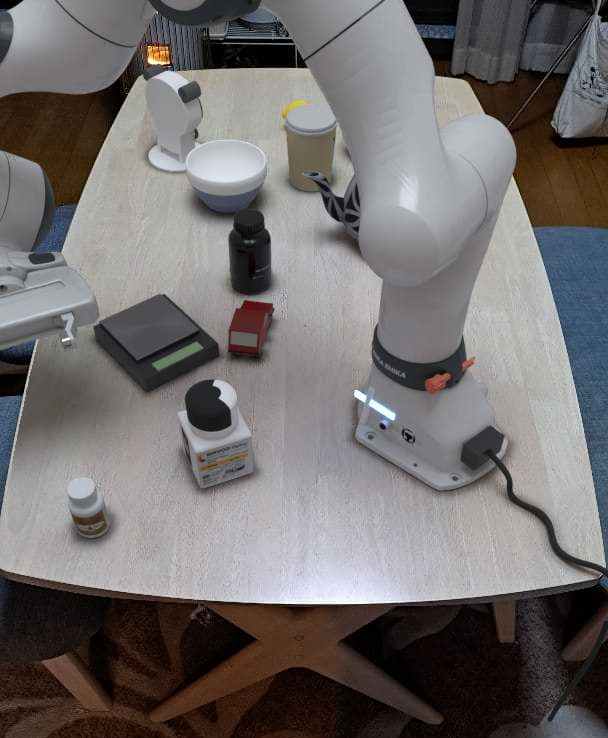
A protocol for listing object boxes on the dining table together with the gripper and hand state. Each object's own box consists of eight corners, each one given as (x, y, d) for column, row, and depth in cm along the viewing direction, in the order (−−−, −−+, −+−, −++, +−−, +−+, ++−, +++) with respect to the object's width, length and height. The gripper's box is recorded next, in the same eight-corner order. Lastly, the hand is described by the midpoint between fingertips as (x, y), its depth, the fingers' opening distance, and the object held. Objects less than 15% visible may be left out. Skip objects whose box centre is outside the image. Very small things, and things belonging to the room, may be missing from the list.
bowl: (255, 173, 153) (253, 133, 147) (278, 215, 145) (277, 175, 139) (181, 185, 151) (176, 145, 144) (200, 229, 143) (195, 189, 136)
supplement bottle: (266, 298, 132) (264, 232, 122) (226, 292, 132) (221, 226, 123) (276, 272, 136) (274, 207, 126) (236, 267, 136) (232, 201, 127)
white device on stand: (221, 156, 157) (215, 75, 144) (179, 180, 152) (169, 98, 139) (179, 134, 161) (169, 54, 149) (136, 157, 156) (123, 75, 144)
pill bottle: (77, 542, 103) (63, 504, 97) (75, 515, 105) (61, 477, 99) (112, 535, 104) (100, 498, 97) (109, 509, 106) (97, 471, 100)
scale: (219, 355, 124) (218, 339, 121) (147, 392, 119) (144, 376, 116) (166, 306, 130) (163, 289, 128) (95, 339, 125) (91, 322, 123)
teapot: (298, 206, 147) (298, 124, 135) (464, 201, 148) (479, 119, 136) (305, 271, 136) (306, 188, 124) (484, 265, 137) (502, 182, 125)
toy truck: (276, 316, 129) (277, 290, 125) (262, 364, 123) (262, 338, 118) (241, 311, 130) (240, 285, 125) (224, 359, 123) (223, 333, 119)
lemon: (317, 123, 164) (318, 96, 160) (315, 137, 161) (315, 109, 157) (283, 121, 165) (283, 93, 160) (280, 134, 162) (279, 107, 157)
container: (201, 490, 108) (190, 422, 97) (182, 450, 112) (171, 381, 102) (254, 473, 110) (250, 404, 99) (234, 434, 114) (228, 365, 103)
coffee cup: (344, 184, 151) (348, 120, 142) (303, 199, 148) (304, 135, 139) (316, 161, 156) (318, 98, 146) (276, 176, 153) (274, 112, 143)
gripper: (-92, 291, 98) (-67, 363, 91) (73, 248, 103) (108, 313, 96) (-73, 331, 103) (-48, 402, 96) (82, 288, 108) (116, 353, 101)
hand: (31, 357), depth 96 cm, fingers open, 8 cm apart
